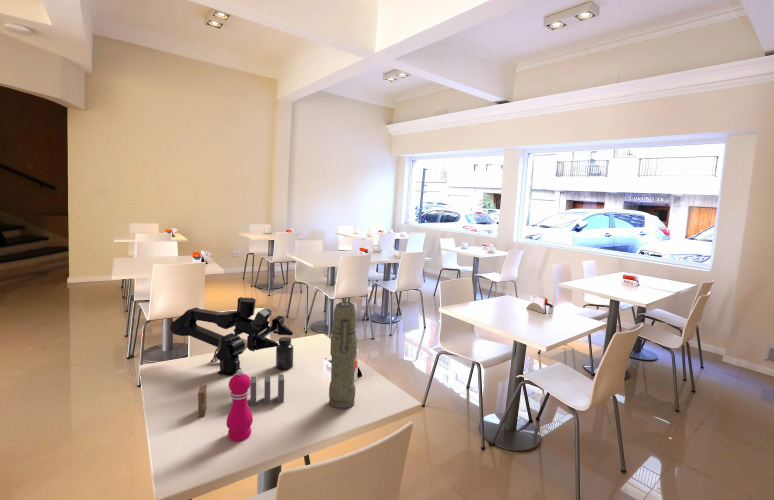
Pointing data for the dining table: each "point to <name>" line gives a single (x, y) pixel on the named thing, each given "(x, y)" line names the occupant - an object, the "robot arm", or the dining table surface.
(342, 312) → the thermos
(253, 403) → the domino
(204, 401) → the domino
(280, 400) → the domino
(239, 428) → the pepper mill
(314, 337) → the dining table surface
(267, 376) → the domino
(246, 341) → the lion figurine
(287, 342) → the supplement bottle
